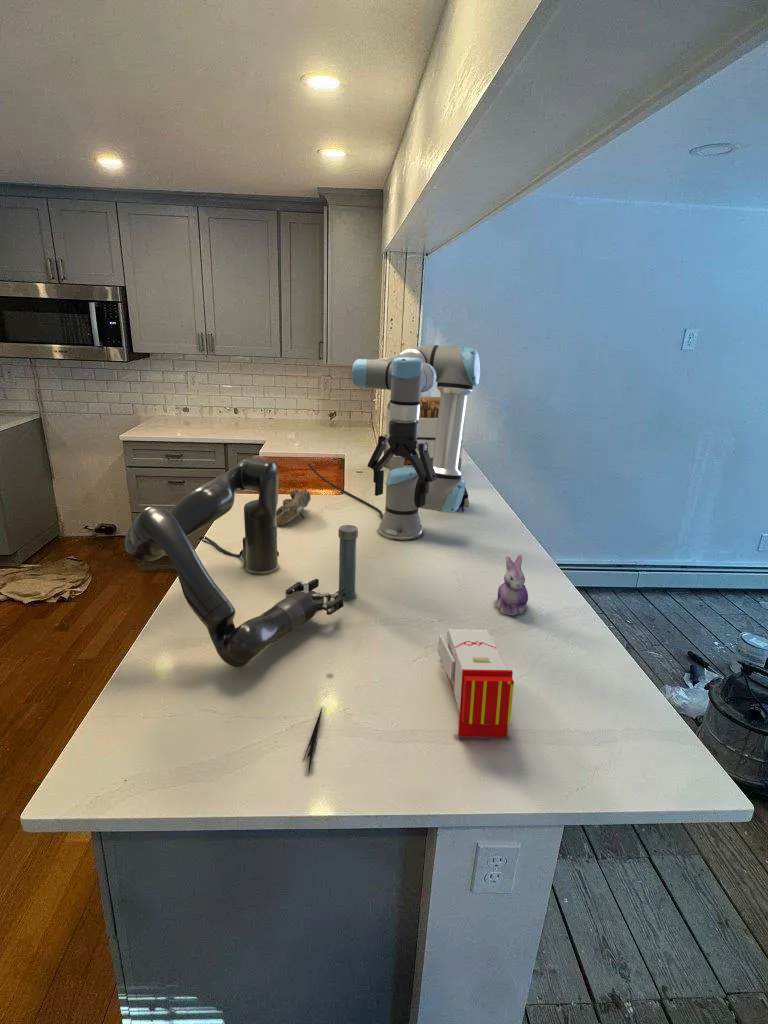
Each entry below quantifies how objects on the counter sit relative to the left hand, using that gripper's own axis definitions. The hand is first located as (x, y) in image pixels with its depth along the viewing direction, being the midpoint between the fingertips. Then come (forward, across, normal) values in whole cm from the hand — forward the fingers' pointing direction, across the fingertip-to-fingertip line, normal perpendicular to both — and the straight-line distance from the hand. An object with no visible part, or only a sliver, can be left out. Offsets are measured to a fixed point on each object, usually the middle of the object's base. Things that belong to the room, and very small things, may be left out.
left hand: (331, 586), depth 147 cm
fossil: (+48, -50, -7) cm, 69 cm away
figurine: (+27, +40, -6) cm, 49 cm away
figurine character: (+96, -4, -6) cm, 96 cm away
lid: (+8, 0, +13) cm, 15 cm away
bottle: (+8, 0, -6) cm, 10 cm away
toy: (-13, +44, -6) cm, 46 cm away
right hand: (+18, +9, +21) cm, 29 cm away
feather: (-36, +23, -6) cm, 43 cm away
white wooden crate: (+131, -39, -6) cm, 137 cm away
